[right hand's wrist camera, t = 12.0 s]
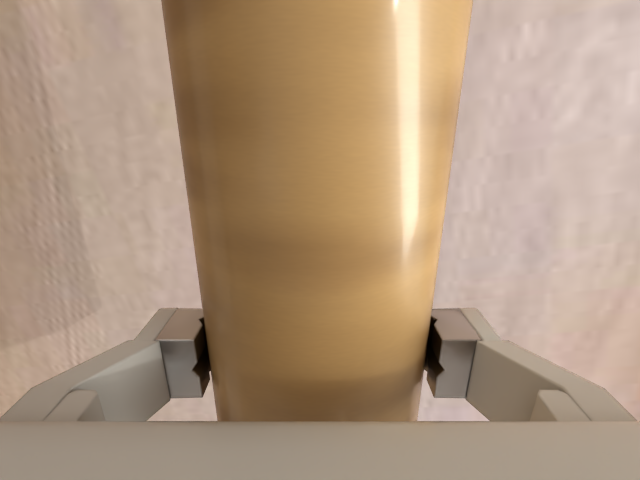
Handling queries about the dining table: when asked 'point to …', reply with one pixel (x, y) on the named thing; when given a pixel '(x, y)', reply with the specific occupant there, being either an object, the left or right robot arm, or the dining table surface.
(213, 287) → the rod
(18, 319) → the dining table surface
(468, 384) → the right robot arm
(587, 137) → the dining table surface
